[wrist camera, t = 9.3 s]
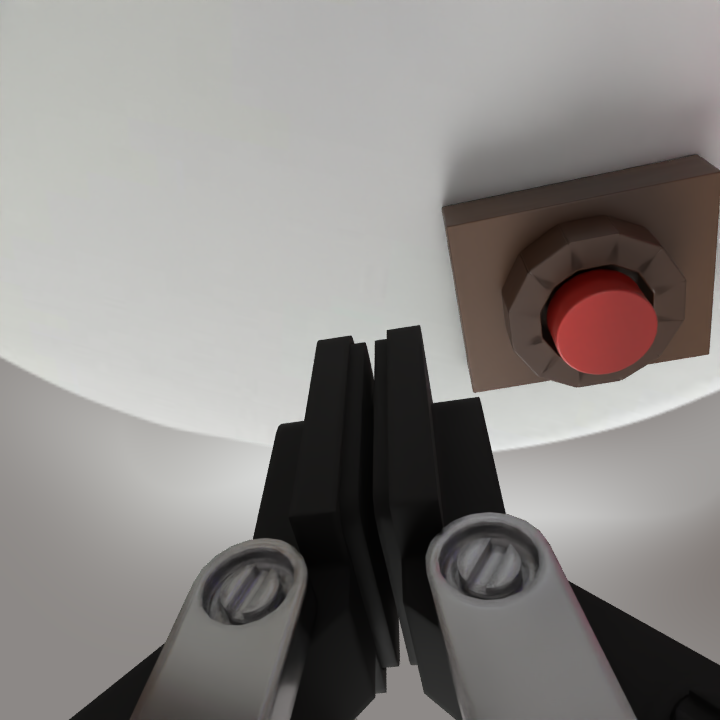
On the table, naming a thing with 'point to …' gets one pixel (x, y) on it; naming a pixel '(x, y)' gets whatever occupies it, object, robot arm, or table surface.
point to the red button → (601, 322)
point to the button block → (584, 265)
